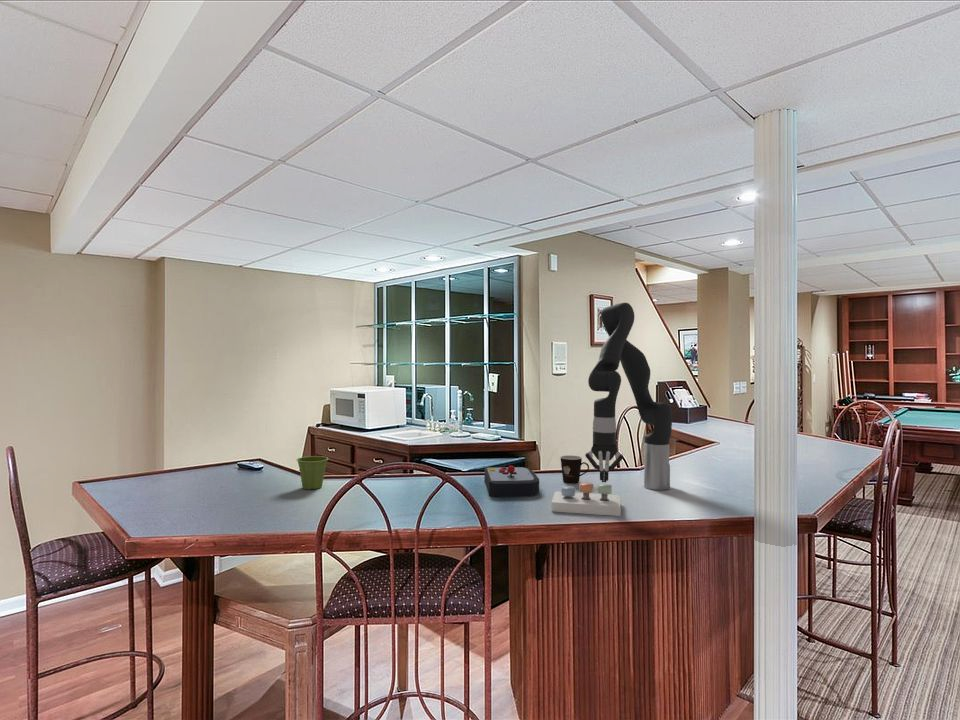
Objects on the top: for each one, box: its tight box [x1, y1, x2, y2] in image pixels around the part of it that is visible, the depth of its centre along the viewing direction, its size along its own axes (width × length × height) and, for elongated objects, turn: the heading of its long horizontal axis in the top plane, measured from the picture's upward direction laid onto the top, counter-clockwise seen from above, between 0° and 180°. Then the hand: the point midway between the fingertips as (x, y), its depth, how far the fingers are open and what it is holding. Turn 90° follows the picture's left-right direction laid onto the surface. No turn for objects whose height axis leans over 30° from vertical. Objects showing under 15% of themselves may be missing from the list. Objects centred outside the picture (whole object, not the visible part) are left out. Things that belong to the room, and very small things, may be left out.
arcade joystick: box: [483, 465, 540, 498], centre depth 204 cm, size 28×19×10 cm
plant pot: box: [296, 455, 329, 490], centre depth 204 cm, size 12×12×11 cm
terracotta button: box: [578, 482, 594, 500], centre depth 177 cm, size 5×5×6 cm
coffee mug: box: [559, 454, 590, 485], centre depth 212 cm, size 12×9×10 cm
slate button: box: [560, 485, 576, 499], centre depth 179 cm, size 5×5×6 cm
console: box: [551, 491, 622, 517], centre depth 177 cm, size 22×14×3 cm, turn 77°
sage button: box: [596, 483, 612, 501], centre depth 176 cm, size 5×5×6 cm
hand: (603, 481), depth 176 cm, fingers closed
